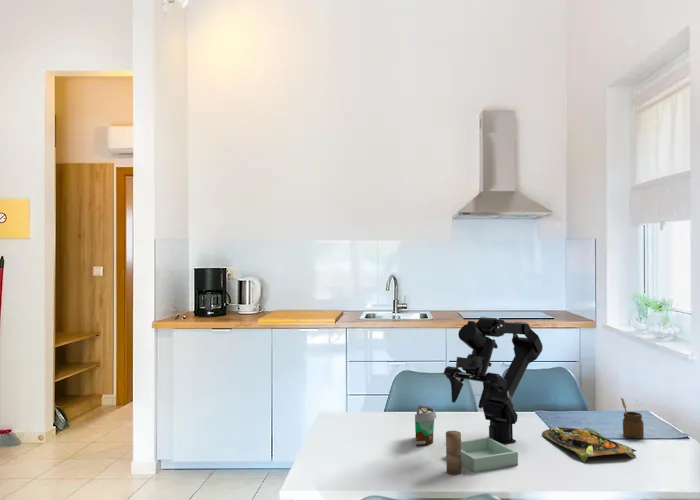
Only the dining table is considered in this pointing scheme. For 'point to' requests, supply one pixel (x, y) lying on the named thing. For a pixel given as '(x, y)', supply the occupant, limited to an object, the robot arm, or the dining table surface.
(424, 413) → the food container
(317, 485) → the dining table surface
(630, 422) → the utensil holder
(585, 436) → the prepared meal
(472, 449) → the box
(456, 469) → the walnut handle
